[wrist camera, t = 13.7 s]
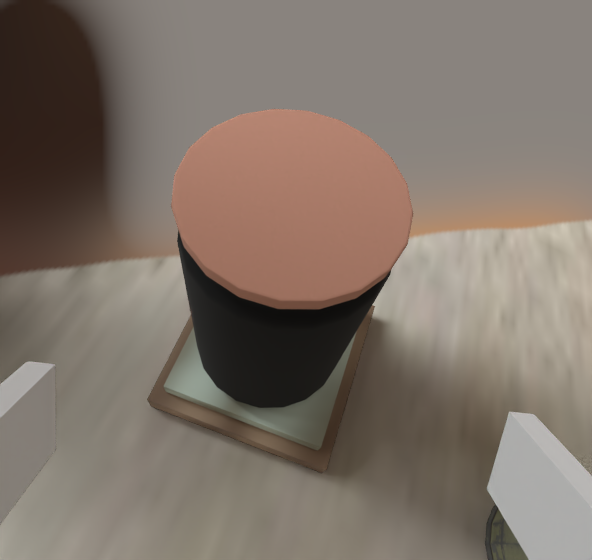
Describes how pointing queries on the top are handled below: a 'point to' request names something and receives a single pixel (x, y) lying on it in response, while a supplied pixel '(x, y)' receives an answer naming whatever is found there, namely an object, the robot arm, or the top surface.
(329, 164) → the coffee jar
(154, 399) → the plinth
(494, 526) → the thermos
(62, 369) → the top surface
